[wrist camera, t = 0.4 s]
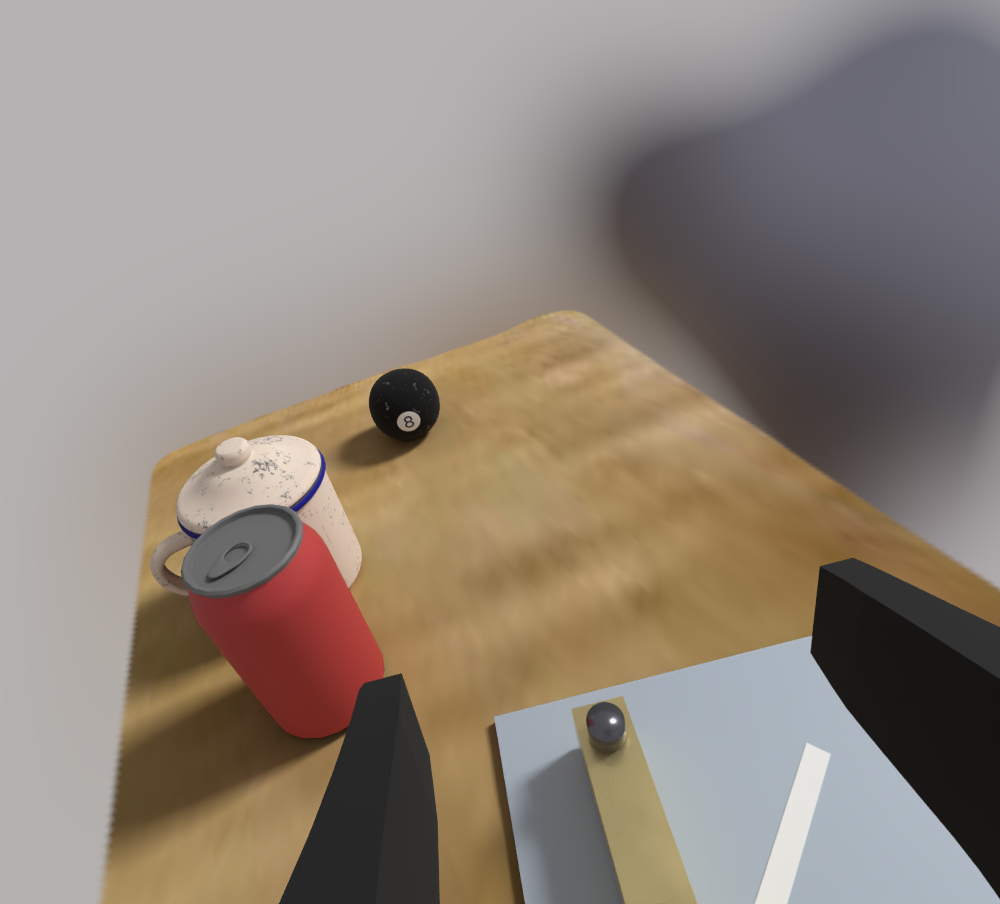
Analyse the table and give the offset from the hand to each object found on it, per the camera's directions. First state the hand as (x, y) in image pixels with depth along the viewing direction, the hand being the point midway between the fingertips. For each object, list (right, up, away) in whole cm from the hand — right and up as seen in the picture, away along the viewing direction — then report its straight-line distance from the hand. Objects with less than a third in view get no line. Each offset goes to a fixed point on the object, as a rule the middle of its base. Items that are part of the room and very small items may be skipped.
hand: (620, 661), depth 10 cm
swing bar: (+4, -13, +15) cm, 20 cm away
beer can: (-12, -10, +25) cm, 29 cm away
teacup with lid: (-17, -6, +32) cm, 36 cm away
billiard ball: (-10, +5, +44) cm, 45 cm away
